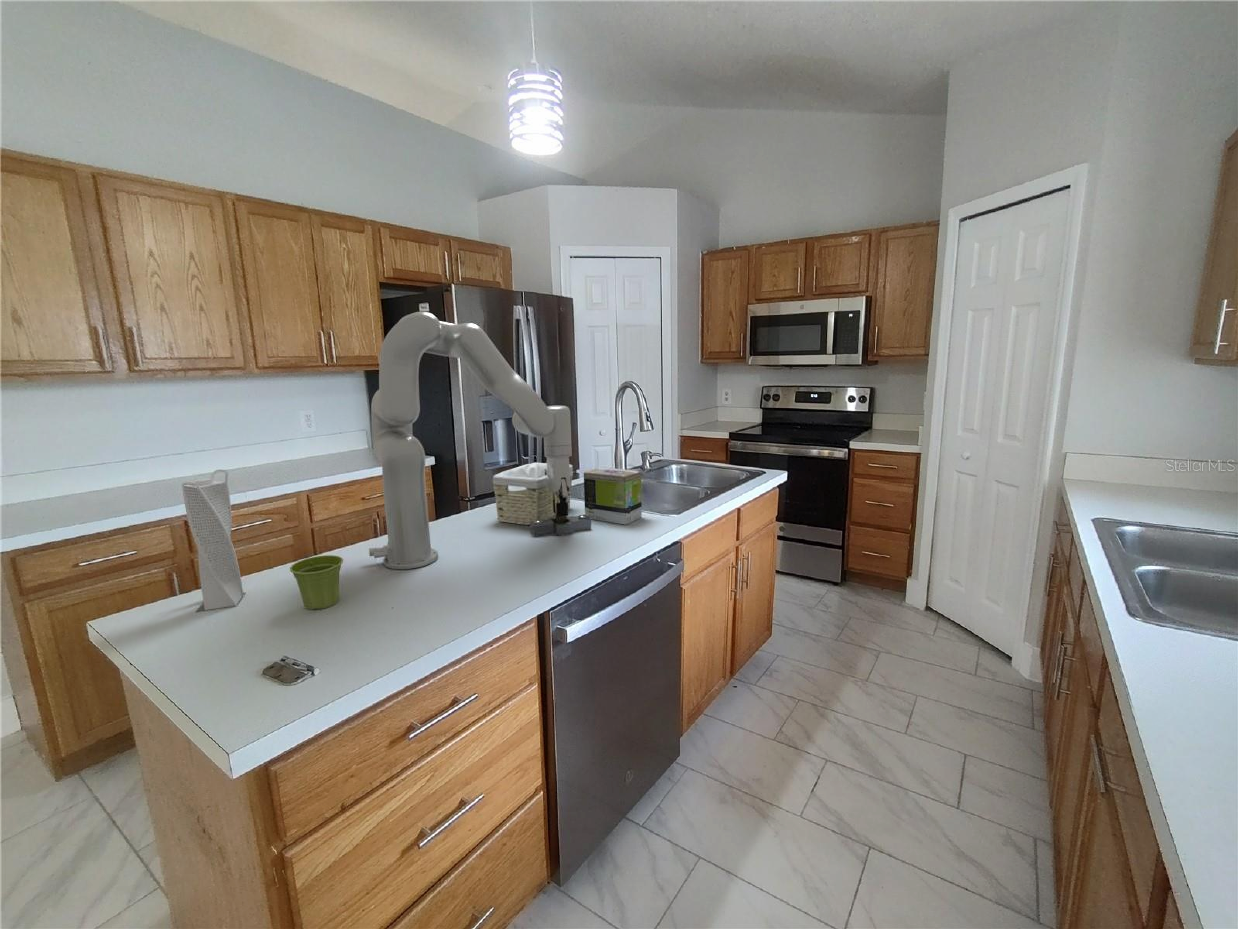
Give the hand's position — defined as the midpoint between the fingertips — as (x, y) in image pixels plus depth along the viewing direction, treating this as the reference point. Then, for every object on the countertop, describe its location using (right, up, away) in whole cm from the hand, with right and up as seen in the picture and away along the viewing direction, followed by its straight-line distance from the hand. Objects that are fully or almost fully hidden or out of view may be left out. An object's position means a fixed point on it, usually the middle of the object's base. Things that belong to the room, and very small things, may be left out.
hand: (560, 513), depth 156 cm
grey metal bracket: (0, -5, +1) cm, 5 cm away
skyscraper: (-65, -15, -43) cm, 79 cm away
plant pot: (-44, -15, -44) cm, 64 cm away
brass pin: (0, -2, 0) cm, 2 cm away
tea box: (+15, -3, +12) cm, 20 cm away
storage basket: (-9, -2, +17) cm, 19 cm away
